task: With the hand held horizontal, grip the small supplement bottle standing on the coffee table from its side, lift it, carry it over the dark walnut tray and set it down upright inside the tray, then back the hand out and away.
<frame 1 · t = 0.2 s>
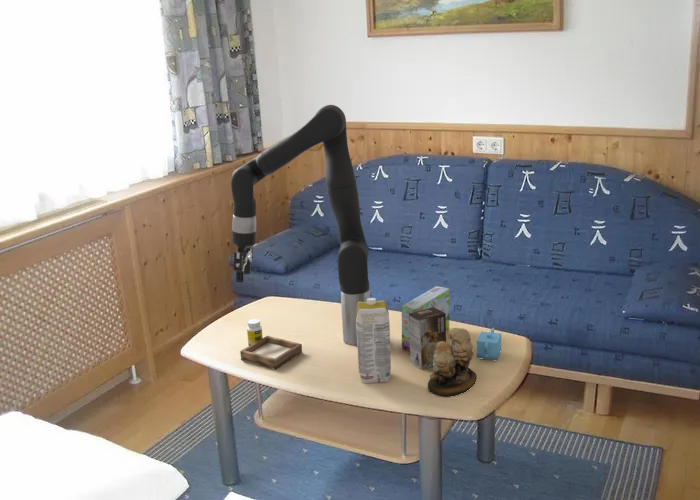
hand: (243, 277, 232), 22 cm above the table, tool pointing down, fingers open, 8 cm apart
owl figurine: (453, 383, 204), on the table
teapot: (489, 356, 220), on the table
walnut tray: (271, 356, 226), on the table
supplement bottle: (255, 345, 235), on the table
snack box: (426, 340, 233), on the table
juice carton: (374, 378, 209), on the table
coffee box: (428, 363, 217), on the table
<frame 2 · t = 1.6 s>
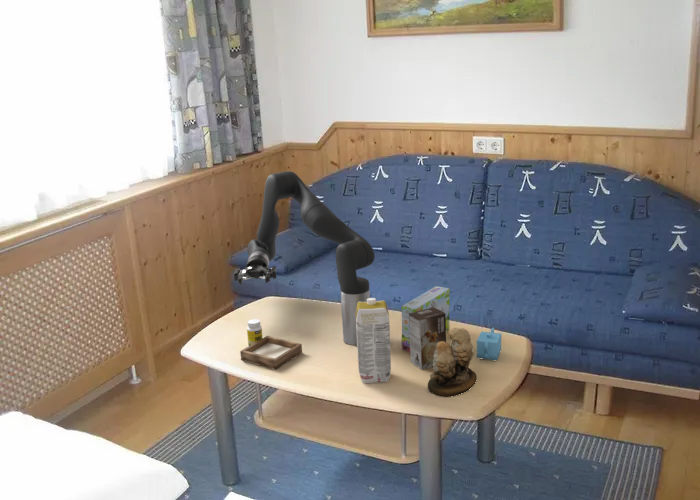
hand: (253, 280, 240), 18 cm above the table, tool horizontal, fingers open, 8 cm apart
nothing on the table moved.
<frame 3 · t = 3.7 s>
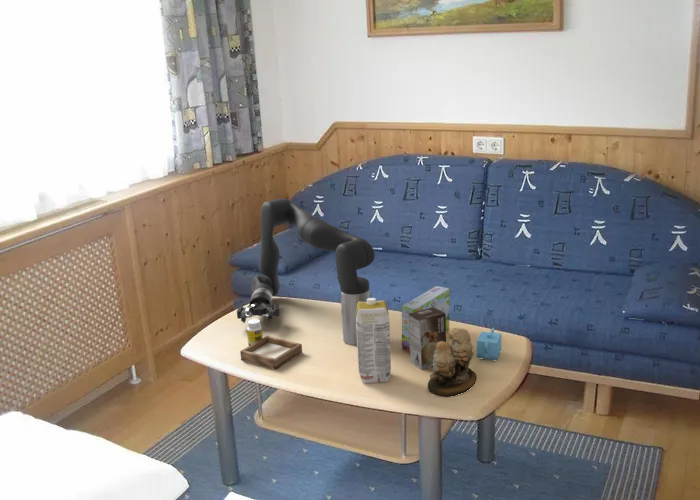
hand: (256, 319, 240), 6 cm above the table, tool horizontal, fingers open, 8 cm apart
nothing on the table moved.
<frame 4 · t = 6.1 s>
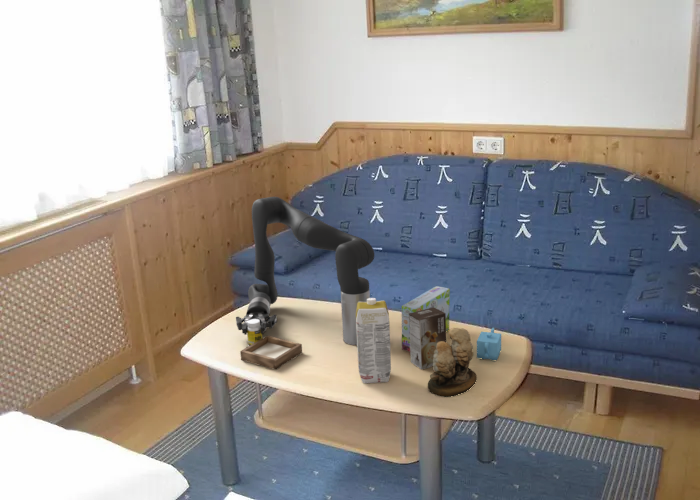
hand: (253, 331, 231), 6 cm above the table, tool horizontal, fingers closed on supplement bottle, 4 cm apart
supplement bottle: (255, 345, 235), on the table, touching gripper
everything else where it was.
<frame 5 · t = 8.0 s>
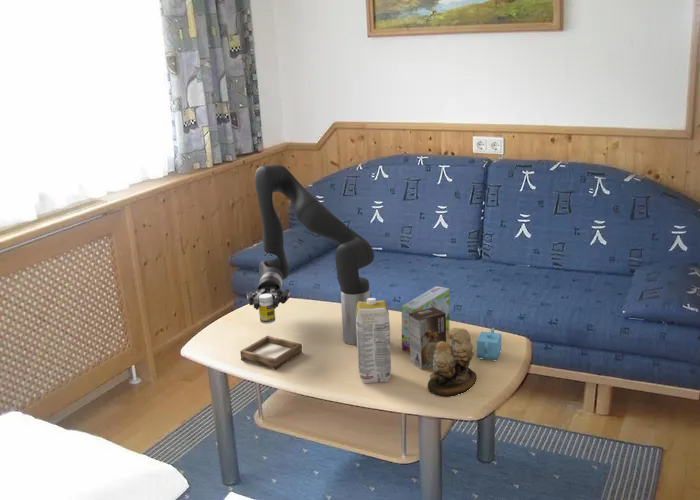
hand: (265, 306, 219), 18 cm above the table, tool horizontal, fingers closed on supplement bottle, 4 cm apart
supplement bottle: (268, 321, 224), point 11 cm above the table, touching gripper
everything else where it was.
when the fingers open (8 cm above the table, at t = 10.3 s): supplement bottle stays where it is, resting on walnut tray.
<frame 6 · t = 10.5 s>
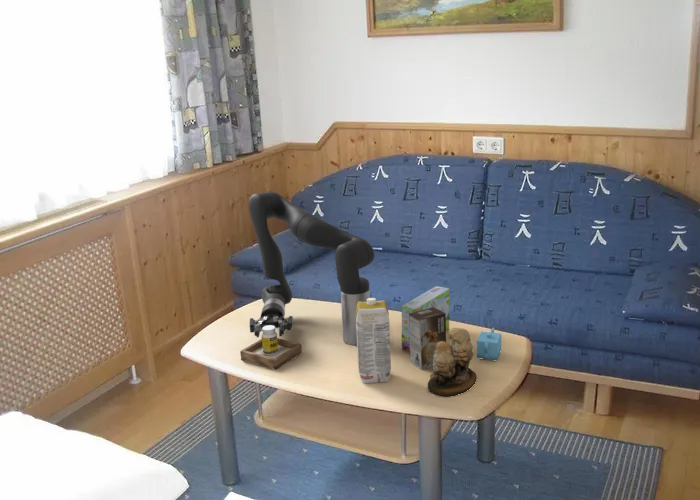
hand: (269, 333, 222), 9 cm above the table, tool horizontal, fingers open, 6 cm apart
supplement bottle: (270, 352, 226), point 1 cm above the table, touching walnut tray
everything else where it was.
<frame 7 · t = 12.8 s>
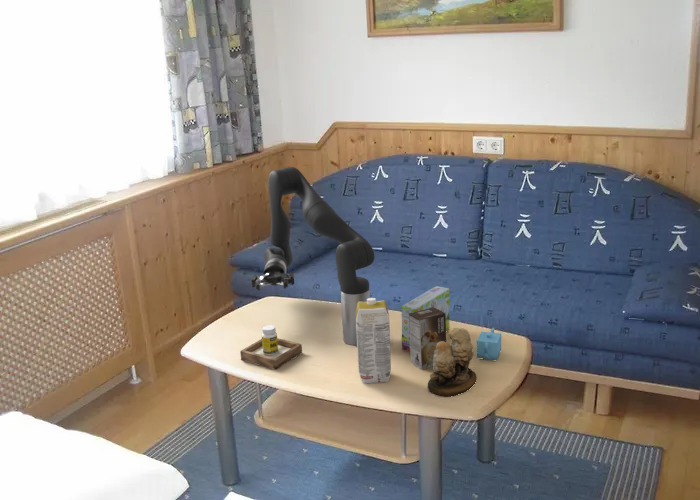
hand: (271, 286, 236), 18 cm above the table, tool horizontal, fingers open, 8 cm apart
nothing on the table moved.
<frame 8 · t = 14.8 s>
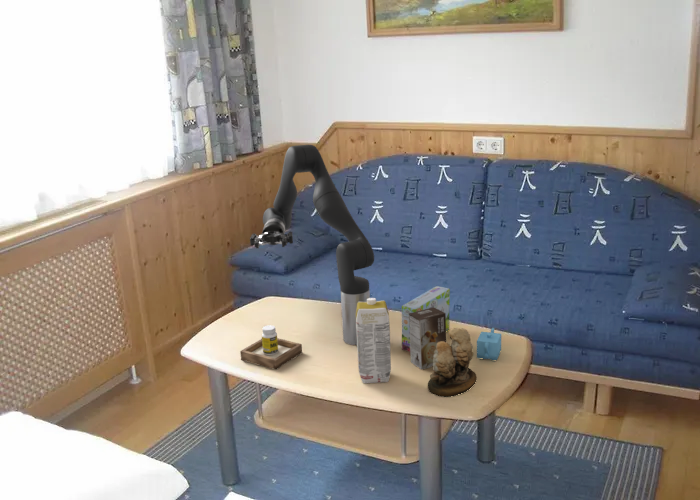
hand: (270, 244, 238), 30 cm above the table, tool horizontal, fingers open, 8 cm apart
nothing on the table moved.
at the end: supplement bottle 0.3 cm from the walnut tray (horizontally); supplement bottle tilted 0°; the gripper is holding nothing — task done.
